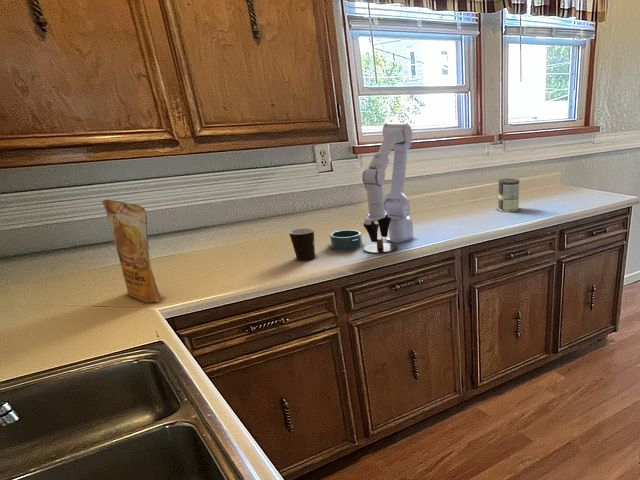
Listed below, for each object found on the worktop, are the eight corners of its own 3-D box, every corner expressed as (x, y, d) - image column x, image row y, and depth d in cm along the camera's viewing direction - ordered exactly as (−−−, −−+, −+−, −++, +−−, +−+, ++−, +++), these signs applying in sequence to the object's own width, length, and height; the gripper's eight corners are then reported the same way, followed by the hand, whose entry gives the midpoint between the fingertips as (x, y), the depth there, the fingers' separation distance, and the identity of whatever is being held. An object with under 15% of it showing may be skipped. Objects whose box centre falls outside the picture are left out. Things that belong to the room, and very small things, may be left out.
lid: (386, 243, 207) (385, 232, 205) (403, 250, 199) (402, 239, 197) (358, 249, 200) (356, 238, 198) (374, 257, 192) (372, 245, 190)
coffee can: (494, 210, 259) (494, 180, 253) (505, 206, 267) (505, 177, 260) (511, 212, 254) (512, 182, 247) (522, 208, 262) (523, 179, 255)
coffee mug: (311, 262, 187) (306, 235, 182) (289, 261, 188) (284, 233, 183) (325, 253, 197) (321, 226, 192) (305, 251, 198) (300, 225, 193)
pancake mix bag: (143, 287, 165) (113, 197, 152) (175, 299, 156) (146, 204, 143) (120, 293, 160) (87, 201, 147) (152, 306, 151) (120, 209, 138)
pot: (350, 240, 212) (348, 227, 210) (371, 249, 201) (369, 235, 198) (324, 245, 206) (322, 231, 203) (343, 255, 194) (341, 241, 192)
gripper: (376, 198, 198) (379, 233, 205) (355, 206, 186) (360, 243, 193) (392, 199, 196) (395, 235, 202) (372, 207, 184) (376, 245, 191)
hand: (379, 239), depth 197 cm, fingers open, 7 cm apart
